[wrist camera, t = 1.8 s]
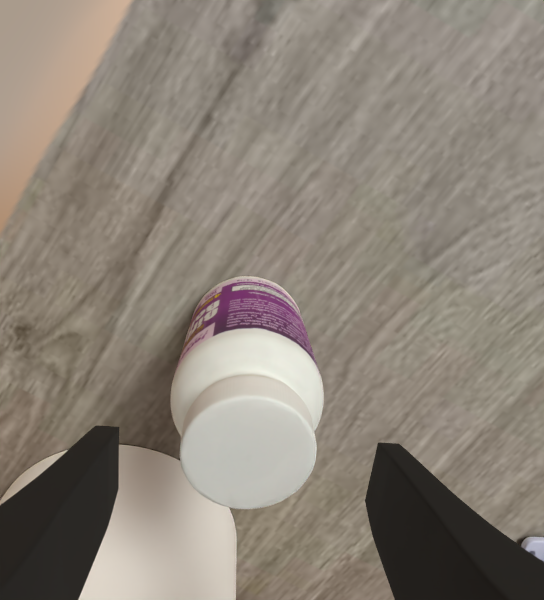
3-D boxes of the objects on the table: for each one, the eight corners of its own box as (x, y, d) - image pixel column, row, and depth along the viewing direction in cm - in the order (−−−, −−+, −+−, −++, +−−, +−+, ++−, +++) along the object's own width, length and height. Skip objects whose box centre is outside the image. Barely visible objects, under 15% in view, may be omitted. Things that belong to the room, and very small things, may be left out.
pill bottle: (196, 266, 21) (161, 361, 12) (309, 280, 21) (358, 382, 12) (186, 370, 23) (147, 523, 13) (291, 381, 23) (322, 535, 14)
